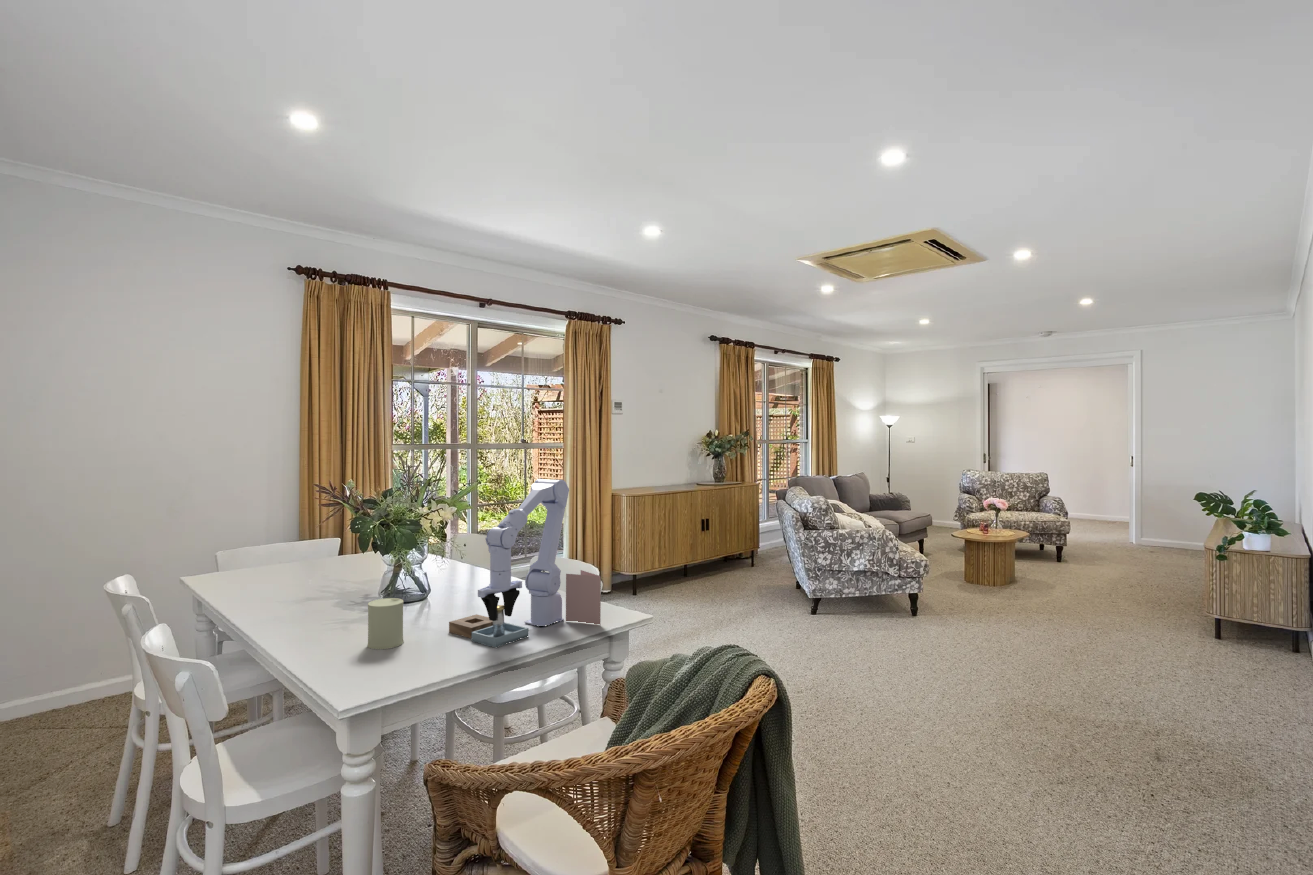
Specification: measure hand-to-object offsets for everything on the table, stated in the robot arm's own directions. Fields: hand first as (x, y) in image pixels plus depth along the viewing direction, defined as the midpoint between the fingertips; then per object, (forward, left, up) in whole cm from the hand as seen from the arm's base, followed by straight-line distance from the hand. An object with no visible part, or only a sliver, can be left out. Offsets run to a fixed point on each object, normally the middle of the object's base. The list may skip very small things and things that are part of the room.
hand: (500, 617), depth 184 cm
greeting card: (-25, +8, -6) cm, 27 cm away
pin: (0, -1, -5) cm, 5 cm away
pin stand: (0, -12, -6) cm, 13 cm away
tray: (0, 0, -6) cm, 6 cm away
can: (+22, -22, -6) cm, 31 cm away
